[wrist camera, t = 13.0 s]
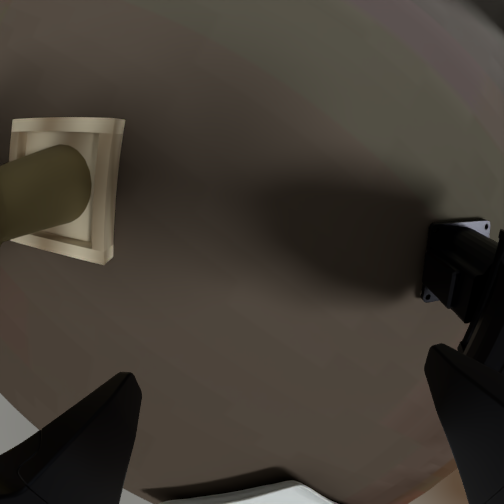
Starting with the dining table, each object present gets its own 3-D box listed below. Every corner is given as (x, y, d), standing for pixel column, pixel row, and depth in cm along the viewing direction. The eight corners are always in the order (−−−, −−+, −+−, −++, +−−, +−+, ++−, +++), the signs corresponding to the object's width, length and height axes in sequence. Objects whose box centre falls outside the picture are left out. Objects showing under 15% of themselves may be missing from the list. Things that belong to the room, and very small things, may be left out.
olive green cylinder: (23, 177, 18) (-83, 213, 8) (67, 127, 17) (-54, 136, 7) (57, 237, 20) (-42, 303, 10) (105, 193, 19) (-10, 247, 8)
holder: (125, 119, 17) (115, 118, 16) (113, 256, 21) (103, 265, 19) (25, 118, 17) (12, 119, 15) (21, 234, 20) (10, 240, 19)
